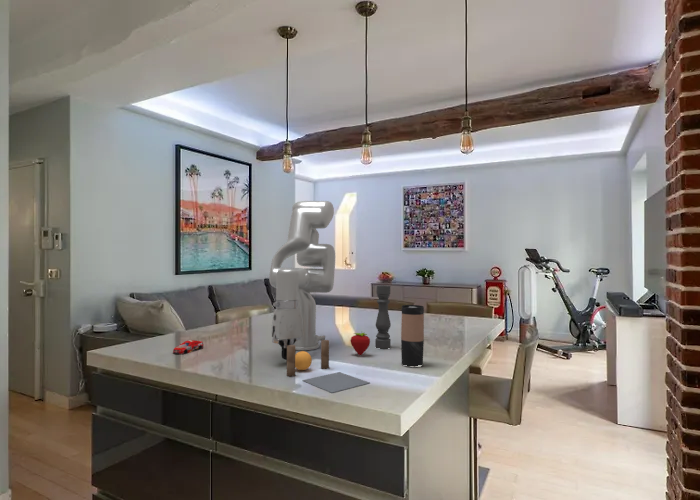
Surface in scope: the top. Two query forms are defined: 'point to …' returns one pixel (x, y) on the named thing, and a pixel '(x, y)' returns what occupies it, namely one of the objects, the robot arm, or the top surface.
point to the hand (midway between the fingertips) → (286, 358)
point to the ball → (302, 360)
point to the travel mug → (412, 335)
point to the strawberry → (360, 342)
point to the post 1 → (291, 360)
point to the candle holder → (383, 318)
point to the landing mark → (335, 382)
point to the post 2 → (324, 354)
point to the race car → (188, 347)
